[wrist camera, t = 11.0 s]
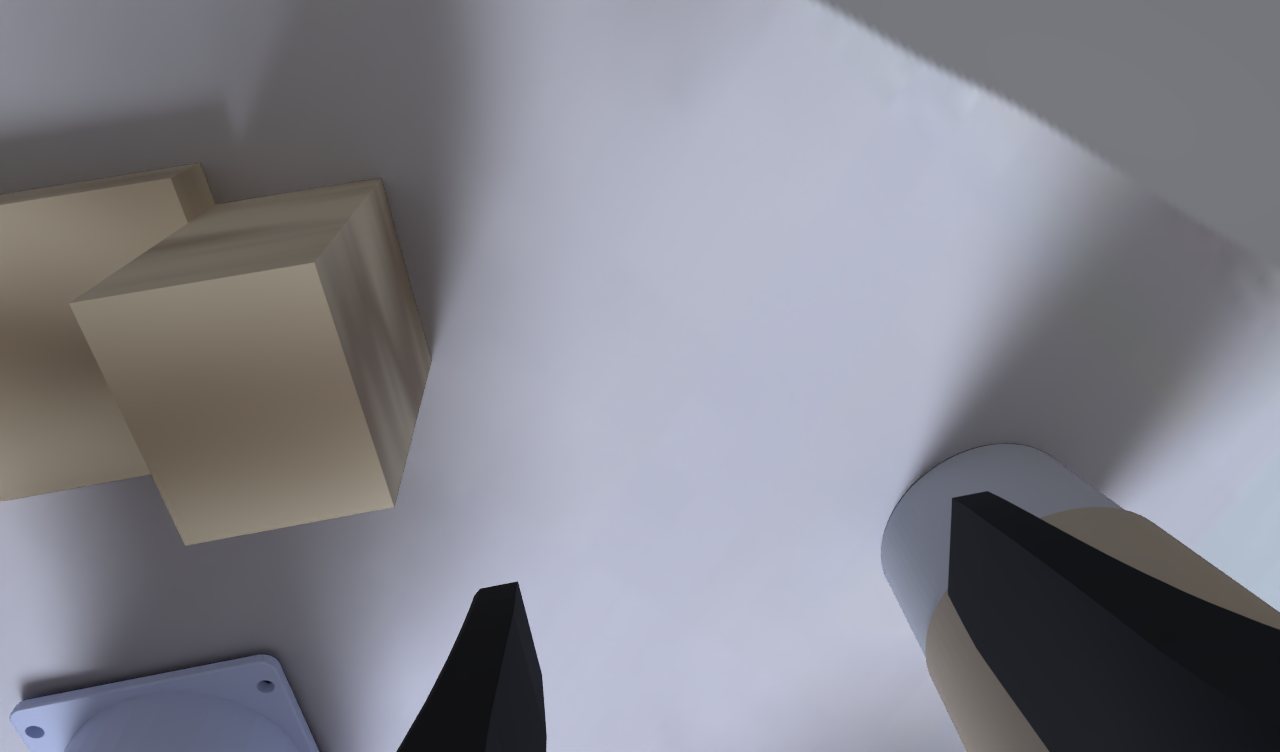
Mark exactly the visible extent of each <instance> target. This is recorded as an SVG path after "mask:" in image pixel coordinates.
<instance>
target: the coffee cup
mask: <svg viewBox="0 0 1280 752" xmlns="http://www.w3.org/2000/svg"><path fill="white" fill-rule="evenodd" d="M985 491H989V492H991V493H993V494H995V495H997V496H999V497H1001V498H1003V499H1005V500H1007V501H1009V502H1011V503H1012V504H1014V505H1016V506H1018V507H1020V508H1022V509H1024V510H1025V511H1027V512H1029V513H1031V514H1033V515H1035V516H1036V517H1038V518H1040V519H1042V520H1044V521H1046V522H1047V523H1049V524H1051V525H1053V526H1055V527H1057V528H1058V529H1060V530H1062V531H1064V532H1066V533H1068V534H1069V535H1071V536H1073V537H1075V538H1077V539H1079V540H1081V541H1083V542H1084V543H1086V544H1088V545H1090V546H1092V547H1094V548H1096V549H1098V550H1100V551H1102V552H1103V553H1105V554H1107V555H1109V556H1111V557H1113V558H1115V559H1117V560H1119V561H1121V562H1123V563H1125V564H1127V565H1129V566H1131V567H1133V568H1135V569H1137V570H1139V571H1141V572H1143V573H1146V574H1148V575H1150V576H1152V577H1154V578H1156V579H1158V580H1161V581H1163V582H1165V583H1167V584H1169V585H1171V586H1173V587H1176V588H1178V589H1180V590H1182V591H1184V592H1187V593H1189V594H1191V595H1193V596H1196V597H1198V598H1200V599H1203V600H1205V601H1207V602H1210V603H1212V604H1215V605H1217V606H1220V607H1222V608H1225V609H1227V610H1230V611H1232V612H1235V613H1237V614H1240V615H1243V616H1245V617H1248V618H1250V619H1253V620H1255V621H1258V622H1260V623H1263V624H1266V625H1268V626H1271V627H1274V628H1277V629H1280V612H1278V611H1277V610H1276V609H1274V608H1273V607H1271V606H1270V605H1268V604H1267V603H1266V602H1264V601H1263V600H1261V599H1260V598H1259V597H1257V596H1256V595H1254V594H1253V593H1252V592H1250V591H1249V590H1247V589H1246V588H1244V587H1243V586H1242V585H1240V584H1239V583H1237V582H1236V581H1235V580H1233V579H1232V578H1230V577H1229V576H1228V575H1226V574H1225V573H1223V572H1222V571H1221V570H1219V569H1218V568H1216V567H1215V566H1213V565H1212V564H1211V563H1209V562H1208V561H1206V560H1205V559H1204V558H1202V557H1201V556H1199V555H1198V554H1197V553H1195V552H1194V551H1192V550H1191V549H1190V548H1188V547H1187V546H1185V545H1184V544H1182V543H1181V542H1180V541H1178V540H1177V539H1175V538H1174V537H1173V536H1171V535H1170V534H1168V533H1167V532H1166V531H1164V530H1163V529H1161V528H1160V527H1159V526H1157V525H1156V524H1154V523H1153V522H1151V521H1150V520H1148V519H1147V518H1145V517H1143V516H1141V515H1138V514H1136V513H1133V512H1130V511H1126V510H1124V509H1123V508H1122V507H1120V506H1119V505H1117V504H1116V503H1115V502H1113V501H1112V500H1110V499H1109V498H1108V497H1106V496H1105V495H1104V494H1102V493H1101V492H1099V491H1098V490H1097V489H1095V488H1094V487H1092V486H1091V485H1090V484H1088V483H1087V482H1086V481H1084V480H1083V479H1081V478H1080V477H1079V476H1077V475H1076V474H1074V473H1073V472H1072V471H1070V470H1069V469H1068V468H1066V467H1065V466H1063V465H1062V464H1061V463H1059V462H1058V461H1056V460H1055V459H1054V458H1052V457H1051V456H1049V455H1048V454H1046V453H1044V452H1042V451H1040V450H1038V449H1035V448H1032V447H1029V446H1024V445H1018V444H994V445H987V446H982V447H978V448H975V449H971V450H968V451H965V452H963V453H960V454H958V455H956V456H954V457H952V458H950V459H948V460H946V461H944V462H942V463H941V464H939V465H937V466H936V467H934V468H933V469H932V470H930V471H929V472H928V473H926V474H925V475H924V476H923V477H921V478H920V479H919V480H918V481H917V482H916V483H915V484H914V485H913V486H912V487H911V488H910V489H909V490H908V491H907V492H906V494H905V495H904V496H903V497H902V499H901V500H900V502H899V503H898V504H897V506H896V508H895V509H894V511H893V513H892V515H891V517H890V519H889V521H888V523H887V526H886V529H885V532H884V536H883V540H882V547H881V560H882V566H883V571H884V574H885V576H886V579H887V581H888V583H889V585H890V587H891V589H892V591H893V593H894V595H895V597H896V599H897V601H898V603H899V605H900V607H901V609H902V611H903V613H904V615H905V617H906V619H907V621H908V623H909V625H910V627H911V629H912V631H913V633H914V635H915V637H916V639H917V641H918V643H919V645H920V647H921V649H922V651H923V653H924V655H925V657H926V662H927V667H928V671H929V674H930V676H931V678H932V681H933V683H934V685H935V687H936V689H937V691H938V693H939V695H940V697H941V699H942V701H943V703H944V705H945V707H946V709H947V712H948V714H949V716H950V718H951V720H952V722H953V724H954V726H955V728H956V730H957V732H958V734H959V736H960V738H961V740H962V743H963V745H964V747H965V749H966V751H967V752H1049V750H1048V749H1047V748H1046V746H1045V745H1044V743H1043V742H1042V741H1041V739H1040V738H1039V736H1038V735H1037V734H1036V732H1035V731H1034V729H1033V728H1032V727H1031V725H1030V724H1029V722H1028V721H1027V720H1026V718H1025V717H1024V715H1023V714H1022V713H1021V711H1020V710H1019V708H1018V707H1017V706H1016V704H1015V703H1014V701H1013V700H1012V699H1011V697H1010V696H1009V694H1008V693H1007V692H1006V690H1005V689H1004V687H1003V686H1002V685H1001V683H1000V682H999V680H998V679H997V677H996V676H995V675H994V673H993V672H992V670H991V669H990V667H989V666H988V665H987V663H986V662H985V660H984V659H983V657H982V656H981V654H980V653H979V652H978V650H977V649H976V647H975V645H974V643H973V641H972V640H971V638H970V636H969V634H968V632H967V630H966V629H965V627H964V625H963V623H962V621H961V619H960V617H959V615H958V613H957V611H956V609H955V608H954V606H953V604H952V602H951V600H950V598H949V596H948V575H949V553H950V531H951V509H952V498H954V497H959V496H964V495H969V494H974V493H980V492H985Z"/></svg>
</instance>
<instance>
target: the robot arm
mask: <svg viewBox="0 0 1280 752" xmlns="http://www.w3.org/2000/svg"><path fill="white" fill-rule="evenodd" d="M948 596H949V598H950V600H951V602H952V604H953V606H954V608H955V609H956V611H957V613H958V615H959V617H960V619H961V621H962V623H963V625H964V627H965V629H966V630H967V632H968V634H969V636H970V638H971V640H972V641H973V643H974V645H975V647H976V649H977V650H978V652H979V653H980V654H981V656H982V657H983V659H984V660H985V662H986V663H987V665H988V666H989V667H990V669H991V670H992V672H993V673H994V675H995V676H996V677H997V679H998V680H999V682H1000V683H1001V685H1002V686H1003V687H1004V689H1005V690H1006V692H1007V693H1008V694H1009V696H1010V697H1011V699H1012V700H1013V701H1014V703H1015V704H1016V706H1017V707H1018V708H1019V710H1020V711H1021V713H1022V714H1023V715H1024V717H1025V718H1026V720H1027V721H1028V722H1029V724H1030V725H1031V727H1032V728H1033V729H1034V731H1035V732H1036V734H1037V735H1038V736H1039V738H1040V739H1041V741H1042V742H1043V743H1044V745H1045V746H1046V748H1047V749H1048V750H1049V752H1280V629H1277V628H1274V627H1271V626H1268V625H1266V624H1263V623H1260V622H1258V621H1255V620H1253V619H1250V618H1248V617H1245V616H1243V615H1240V614H1237V613H1235V612H1232V611H1230V610H1227V609H1225V608H1222V607H1220V606H1217V605H1215V604H1212V603H1210V602H1207V601H1205V600H1203V599H1200V598H1198V597H1196V596H1193V595H1191V594H1189V593H1187V592H1184V591H1182V590H1180V589H1178V588H1176V587H1173V586H1171V585H1169V584H1167V583H1165V582H1163V581H1161V580H1158V579H1156V578H1154V577H1152V576H1150V575H1148V574H1146V573H1143V572H1141V571H1139V570H1137V569H1135V568H1133V567H1131V566H1129V565H1127V564H1125V563H1123V562H1121V561H1119V560H1117V559H1115V558H1113V557H1111V556H1109V555H1107V554H1105V553H1103V552H1102V551H1100V550H1098V549H1096V548H1094V547H1092V546H1090V545H1088V544H1086V543H1084V542H1083V541H1081V540H1079V539H1077V538H1075V537H1073V536H1071V535H1069V534H1068V533H1066V532H1064V531H1062V530H1060V529H1058V528H1057V527H1055V526H1053V525H1051V524H1049V523H1047V522H1046V521H1044V520H1042V519H1040V518H1038V517H1036V516H1035V515H1033V514H1031V513H1029V512H1027V511H1025V510H1024V509H1022V508H1020V507H1018V506H1016V505H1014V504H1012V503H1011V502H1009V501H1007V500H1005V499H1003V498H1001V497H999V496H997V495H995V494H993V493H991V492H989V491H985V492H980V493H974V494H969V495H964V496H959V497H954V498H952V509H951V531H950V553H949V575H948ZM263 680H268V681H270V682H272V683H266V682H263ZM10 721H11V723H12V725H13V726H14V727H15V729H16V730H17V732H18V733H19V735H20V736H21V738H22V739H23V741H24V742H25V744H26V745H27V747H28V748H29V750H30V751H31V752H319V750H318V747H317V745H316V743H315V741H314V739H313V736H312V734H311V732H310V730H309V727H308V725H307V723H306V721H305V719H304V716H303V714H302V712H301V710H300V707H299V705H298V703H297V701H296V699H295V696H294V694H293V692H292V690H291V687H290V685H289V683H288V681H287V679H286V676H285V674H284V672H283V670H282V667H281V665H280V663H279V662H278V661H277V659H275V658H274V657H272V656H269V655H265V654H264V655H254V656H249V657H244V658H239V659H234V660H229V661H223V662H218V663H213V664H208V665H203V666H198V667H193V668H187V669H182V670H177V671H172V672H167V673H162V674H157V675H151V676H146V677H141V678H136V679H131V680H126V681H121V682H116V683H110V684H105V685H100V686H95V687H90V688H85V689H80V690H74V691H69V692H64V693H59V694H54V695H49V696H44V697H38V698H33V699H28V700H24V701H22V702H20V703H19V704H17V705H16V707H15V708H14V710H13V711H12V712H11V714H10ZM37 726H38V727H37ZM40 727H41V728H40ZM397 752H546V722H545V708H544V695H543V682H542V674H541V670H540V666H539V662H538V658H537V654H536V650H535V646H534V642H533V639H532V635H531V631H530V627H529V623H528V619H527V615H526V611H525V607H524V604H523V600H522V596H521V592H520V588H519V584H518V582H513V583H508V584H503V585H497V586H492V587H487V588H482V589H480V590H479V591H478V592H477V593H476V595H475V596H474V598H473V601H472V604H471V606H470V609H469V611H468V614H467V616H466V618H465V621H464V623H463V626H462V628H461V630H460V632H459V635H458V637H457V639H456V641H455V643H454V646H453V648H452V650H451V652H450V654H449V656H448V658H447V660H446V662H445V664H444V666H443V668H442V670H441V672H440V674H439V676H438V678H437V680H436V682H435V684H434V686H433V688H432V690H431V692H430V694H429V696H428V698H427V700H426V702H425V703H424V705H423V707H422V709H421V710H420V712H419V714H418V716H417V717H416V719H415V721H414V723H413V724H412V726H411V728H410V729H409V731H408V733H407V735H406V736H405V738H404V740H403V742H402V743H401V745H400V747H399V748H398V750H397Z"/></svg>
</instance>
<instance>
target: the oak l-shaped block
mask: <svg viewBox="0 0 1280 752" xmlns="http://www.w3.org/2000/svg"><path fill="white" fill-rule="evenodd" d="M431 361H432V360H431V357H430V353H429V350H428V346H427V342H426V339H425V335H424V331H423V328H422V324H421V320H420V317H419V313H418V310H417V306H416V302H415V299H414V295H413V291H412V288H411V284H410V280H409V277H408V273H407V270H406V266H405V262H404V259H403V255H402V251H401V248H400V244H399V240H398V237H397V233H396V230H395V226H394V222H393V219H392V215H391V211H390V208H389V204H388V200H387V197H386V193H385V189H384V186H383V182H382V179H381V178H376V179H370V180H364V181H358V182H351V183H345V184H339V185H333V186H327V187H320V188H314V189H308V190H302V191H296V192H289V193H283V194H277V195H271V196H265V197H258V198H252V199H246V200H240V201H234V202H227V203H221V204H215V201H214V199H213V196H212V193H211V191H210V188H209V185H208V183H207V180H206V177H205V175H204V172H203V169H202V166H201V164H200V163H196V164H190V165H183V166H177V167H171V168H164V169H158V170H152V171H145V172H139V173H133V174H126V175H120V176H114V177H107V178H101V179H95V180H88V181H82V182H76V183H69V184H63V185H57V186H51V187H44V188H38V189H32V190H25V191H19V192H13V193H6V194H0V502H1V501H7V500H12V499H18V498H24V497H29V496H35V495H40V494H46V493H51V492H57V491H63V490H68V489H74V488H79V487H85V486H90V485H96V484H102V483H107V482H113V481H118V480H124V479H130V478H135V477H141V476H146V475H151V476H152V478H153V480H154V482H155V484H156V486H157V488H158V490H159V493H160V495H161V497H162V499H163V501H164V503H165V505H166V507H167V509H168V511H169V513H170V516H171V518H172V520H173V522H174V524H175V526H176V528H177V530H178V532H179V534H180V536H181V538H182V541H183V543H184V545H185V546H188V545H193V544H198V543H204V542H209V541H215V540H220V539H225V538H231V537H236V536H242V535H247V534H252V533H258V532H263V531H269V530H274V529H279V528H285V527H290V526H296V525H301V524H307V523H312V522H317V521H323V520H328V519H334V518H339V517H344V516H350V515H355V514H361V513H366V512H371V511H377V510H382V509H388V508H393V507H394V506H395V502H396V499H397V495H398V491H399V487H400V483H401V479H402V475H403V471H404V467H405V463H406V459H407V455H408V452H409V448H410V444H411V440H412V436H413V432H414V428H415V424H416V420H417V416H418V412H419V408H420V404H421V401H422V397H423V393H424V389H425V385H426V381H427V377H428V373H429V369H430V365H431Z"/></svg>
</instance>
